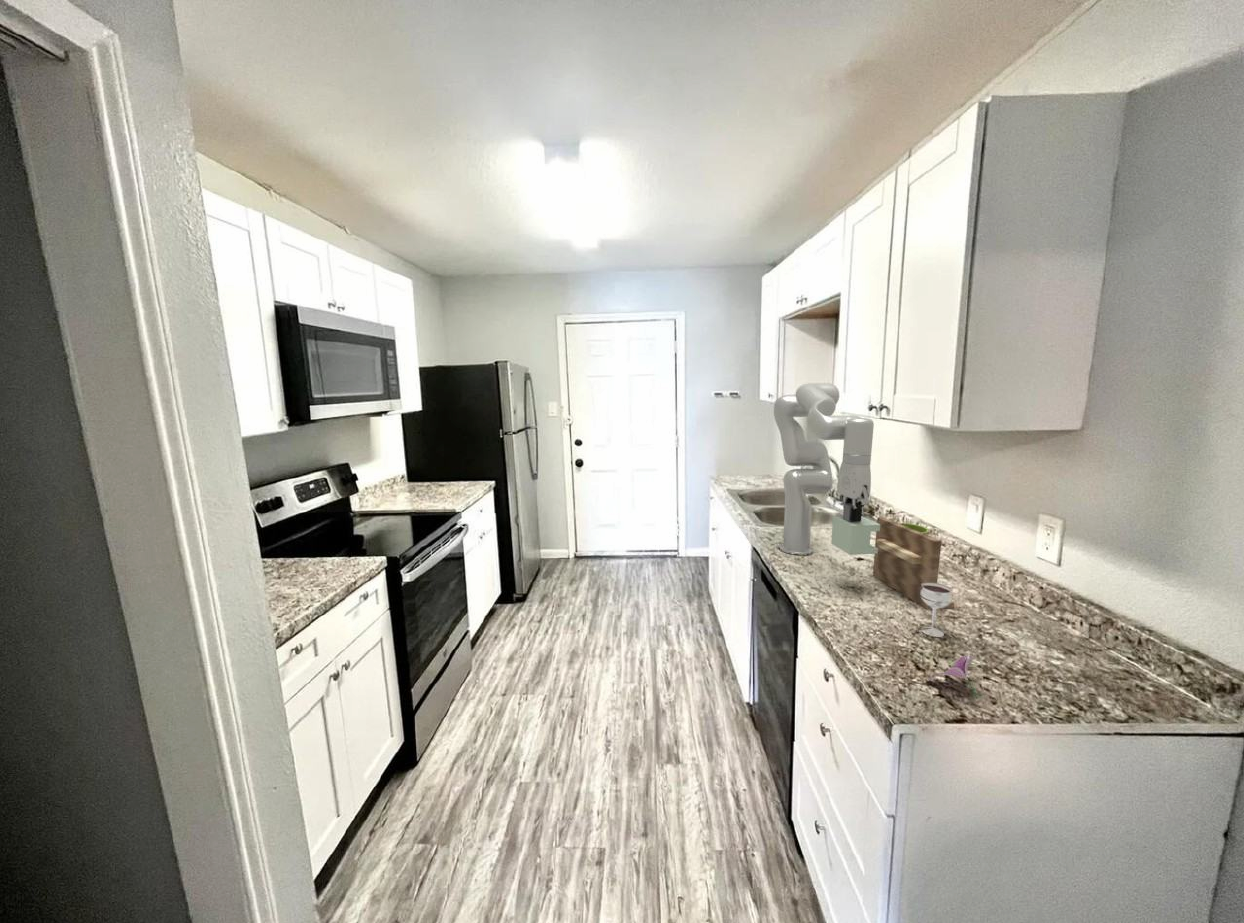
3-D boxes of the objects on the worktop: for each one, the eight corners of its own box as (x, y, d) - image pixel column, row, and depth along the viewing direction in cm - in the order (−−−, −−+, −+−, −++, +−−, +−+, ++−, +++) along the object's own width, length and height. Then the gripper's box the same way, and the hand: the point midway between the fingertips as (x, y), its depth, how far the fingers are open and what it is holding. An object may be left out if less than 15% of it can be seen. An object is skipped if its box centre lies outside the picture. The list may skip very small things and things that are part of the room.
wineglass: (933, 640, 115) (938, 594, 113) (910, 627, 122) (914, 583, 120) (954, 636, 117) (959, 591, 115) (930, 623, 123) (935, 580, 122)
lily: (979, 681, 101) (957, 636, 103) (1020, 694, 90) (994, 644, 92) (927, 699, 101) (906, 654, 103) (962, 715, 89) (938, 664, 92)
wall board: (865, 576, 154) (870, 517, 151) (895, 574, 155) (900, 516, 152) (919, 610, 131) (926, 541, 128) (953, 607, 132) (961, 539, 129)
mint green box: (831, 543, 148) (834, 500, 146) (857, 542, 149) (860, 499, 147) (850, 554, 138) (853, 509, 136) (877, 553, 139) (881, 508, 137)
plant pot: (880, 554, 174) (883, 525, 172) (901, 549, 179) (904, 521, 177) (911, 565, 163) (914, 534, 161) (933, 559, 168) (936, 529, 166)
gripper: (829, 455, 146) (825, 512, 149) (861, 464, 130) (856, 528, 133) (851, 455, 147) (847, 511, 150) (886, 464, 131) (881, 526, 134)
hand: (851, 518), depth 142 cm, fingers closed on mint green box, 3 cm apart
